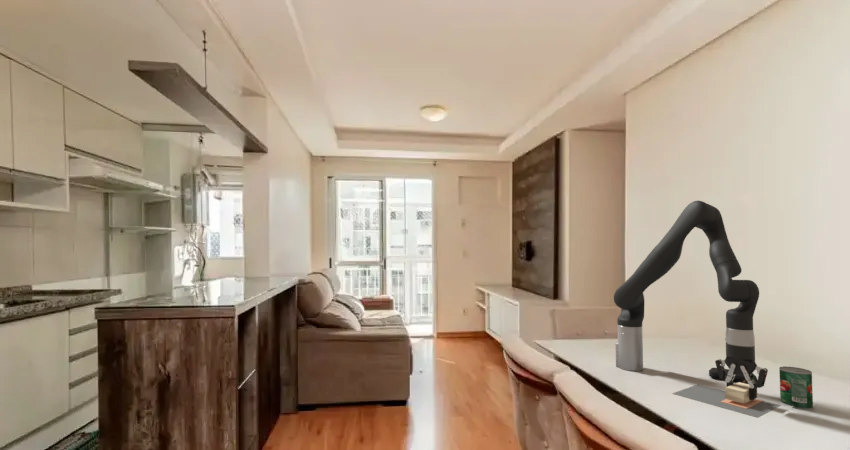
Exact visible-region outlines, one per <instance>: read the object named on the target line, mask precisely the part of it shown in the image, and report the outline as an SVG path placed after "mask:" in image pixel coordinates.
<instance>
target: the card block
mask: <svg viewBox="0 0 850 450" xmlns="http://www.w3.org/2000/svg"><path fill="white" fill-rule="evenodd" d="M749 388H750V386H749V384H745V383H741V382H738V383H736V382H734V384H733V385H730V386H728V387H726V386H725V388H724V391H725V399H728V400H732V401H736V402H739V403H743V404H744V403H747V402H749V401H751V400H750V399H749ZM755 399H758V396H757V397H756V398H755Z"/></svg>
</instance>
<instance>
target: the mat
mask: <svg viewBox="0 0 850 450" xmlns="http://www.w3.org/2000/svg"><path fill="white" fill-rule="evenodd" d="M671 394H672V395H674V396H677V397H678V396H679V397H681V398H686V399H689V400H692V401H697V402H700V403H704V404H706V405H710V406H713V407H716V408H717V407H718V408H721V409H724V410H729V411H731V412H732V411H733V412H735V413H739V414H742V415H747V416H750V417H753V418H757V419H758V418H761V416H764V415H765V414H767V413H769V412H771V411H773V410H775V409H777V408H779V407H780V406H781V407H782V404H779V403H775V402H770V401H766V400H762V399H758V398H755V399H754V400H751V401H749V402H747V403H744V404H743V403H739V402H736V401H732V400H728V399H725V390H724V389H723V390H722V389H720V388H714V387H711V386H707V385H703V384H699V383H697V384H695V385H694V384H693V385H692V386H690V387H687V388H683V389H681V390H678V391H674V392H673V393H671Z"/></svg>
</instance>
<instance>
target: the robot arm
mask: <svg viewBox="0 0 850 450" xmlns="http://www.w3.org/2000/svg"><path fill="white" fill-rule="evenodd" d="M695 228H697V229H699V230H702V232H704V234H705V236H706V237H707V239H708V242H709V247H708V248H709V249H708V253H709V254H708V255H709V258H710V259H709V260H710V262H711V264H712V266H713V268H714V270H715V272H716V273H715V274H716V278H717V279H716V280H717V288H718V289H717V291H718V293H719V296H720V298H722V299H723V300H724V301H725V302H730V303H734V302H735V303H739V304H738V306H737V307H735V308H730V309H728V310H726V312H725V325H726V326H725V328H726V329H725V338H724V340H725V355H726V356H725V359H721V358H719V359H716V360H715V362H714V363H715V366H716V367H715V368H717V370H718V374H719V378H720V379H723V380H725V385H726V386H725V387H728V386H730V385H733V384H735V382H732V381H733V379H734V377H735V375H741V376H745V379H746V380H747V382H748V384H749V386H750V388H749V399H750V400H754V399H757V398H758V389H759V388H760V389H761V388H762V387H765V384H766V378H767V376H768V372H769V371H768V368H766V367H764V368H763V367H761V366H758V365H757V363H756V348H755V347H756V345H755V344H756V343H755V333H754V315H755V312H756V307H757V305H758V303H759V297H760V288H759V286H758V285H757V283H756V282H754V281H753V280H750V279H733V278H735V277H737V276H739V275H741V273H742V267H741V265H740V263H739V260H738V259H737V257H736V255H735V252H734V250H733V248H732V245H731V244H730V241H729V238H728V234H727V231H726V228H725V224H724V219H723V216H722V214H721V211H720V210H719V209H718V208H717V207H715V206H714V205H712V204H709V203H707V202H705V201H703V200H693V201H692V202H690V203H689V204H687V206H686V207H685V208H684V209H683V210H682V212H680V214H679V216H678V217H677V219H676V220H675V222H674V223H673V224H672V226H671V227H670V229H669V230H668V231H667V232H666V234H665V235H664V236H663V237H662V239H661V240H660V241H659V242H658V243H657V244H656V245H655V246H654V248H653V249H651V251H649V254H648V255H647V256H646V257H645V259H644V260H643V261H642V262H641V263H640V264H639V266H638V267H637V268H636V270H635V271H634V272H633V273H632V275H631V276H630V277H629V278H628V279H627V280H625V281H624V282H623V283H622V284H621V285H620V286H619V287H618V288H617V289H616V290H615V292H614V294H613V302H614V305H616V306H617V307H618V308H620V310H621V311H620V314H619V316H618V317H617V321H616V322H617V342H615V366H616V367H618V368H620V369H622V370H626V371H631V372H632V371H634V372H637V371H638V372H639V371H640V372H641V371H643V370H644V344H643V342H644V341H643V337H644V336H643V321H644V318H645V294H644V292H645V291H646V289H648V288H649V287H650V286H651V285H653V284H654V283H656V282H657V281H659V280H660V279H661V278H662V277H663V276H665V275H666V274H667V273H668V272H670V270H672V268H673V267H674V266H675V265H676V264H677V262H678V261H679V260H680V258H681V257H682V256H681V255H682V251H683V245H684V242H685V239H686V238H687V236H689V234H690V233H691V231H692V230H694V229H695ZM726 366H727V369H729V372H728V374H727V376H726V372H725V369H726V368H725V367H726ZM755 371H756V372H757V373H756V374H757V375H758V376H757V383H756V381H755V377H754V375H755V374H754V372H755ZM753 374H754V375H753ZM723 380H722V381H723ZM756 397H757V398H756Z"/></svg>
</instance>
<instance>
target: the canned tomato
mask: <svg viewBox="0 0 850 450" xmlns="http://www.w3.org/2000/svg"><path fill="white" fill-rule="evenodd" d="M778 367H779V368H778V369H779V391H780V393H779V394H780V395H779V397H780V398H779V399H780V402H781V403H783V404H784V405H788V406H790V407H792V409H798V410H805V411H806V410H807V411H810V410H813V409H814V401H813V400H814V397H813V394H814V393H813V392H814V391H813V371H811V370H809V369H806V368H802V367H801V368H800V367H795V366H778Z"/></svg>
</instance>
